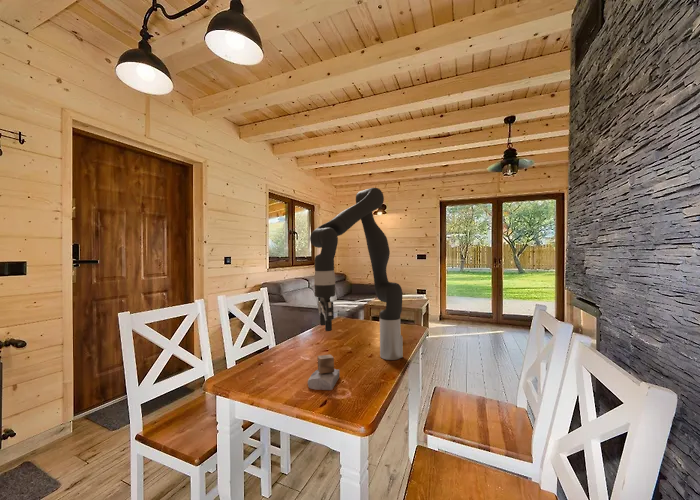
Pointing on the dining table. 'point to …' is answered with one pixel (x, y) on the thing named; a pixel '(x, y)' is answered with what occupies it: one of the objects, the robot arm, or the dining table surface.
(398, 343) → the robot arm
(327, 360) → the walnut cube
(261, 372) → the dining table surface
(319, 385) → the stone block
